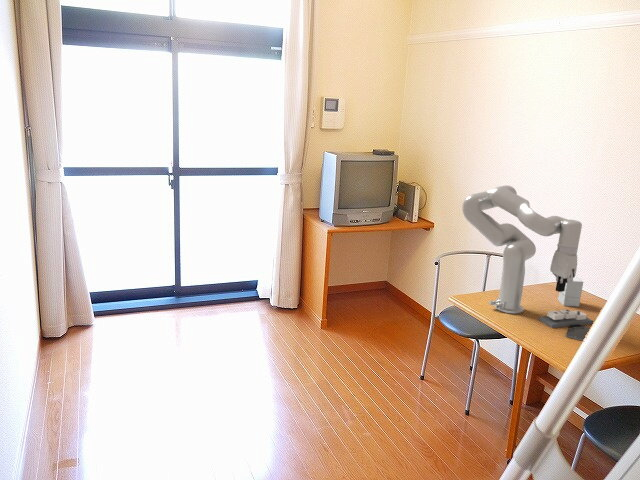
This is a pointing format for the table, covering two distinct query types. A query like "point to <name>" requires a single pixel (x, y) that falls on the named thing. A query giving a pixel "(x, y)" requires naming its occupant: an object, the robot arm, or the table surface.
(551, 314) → the tile one
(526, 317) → the table surface
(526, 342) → the table surface
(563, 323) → the button board
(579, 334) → the smartphone
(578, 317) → the tile three
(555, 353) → the table surface
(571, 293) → the supplement box
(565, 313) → the tile two
